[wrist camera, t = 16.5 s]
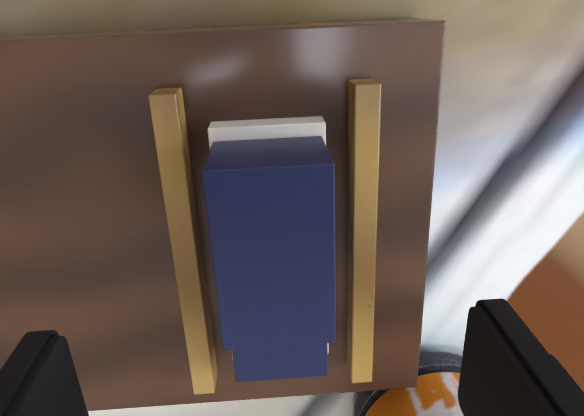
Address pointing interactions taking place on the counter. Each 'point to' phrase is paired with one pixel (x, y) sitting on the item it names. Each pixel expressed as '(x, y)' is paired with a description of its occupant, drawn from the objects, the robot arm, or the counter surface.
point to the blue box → (273, 244)
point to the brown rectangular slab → (191, 199)
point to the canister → (419, 391)
